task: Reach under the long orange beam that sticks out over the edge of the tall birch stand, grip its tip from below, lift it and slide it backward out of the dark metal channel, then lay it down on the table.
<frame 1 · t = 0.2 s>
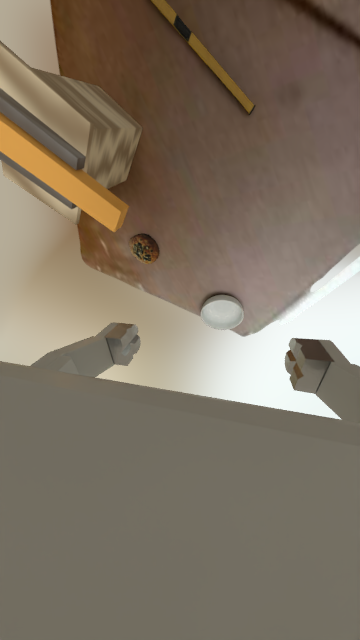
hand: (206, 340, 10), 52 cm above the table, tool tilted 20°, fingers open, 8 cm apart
cereal bowl: (222, 304, 75), on the table
long orange beam: (69, 174, 29), point 26 cm above the table, touching stand
bread roll: (145, 248, 64), on the table
spirit level: (186, 34, 32), on the table
stand: (118, 142, 44), on the table
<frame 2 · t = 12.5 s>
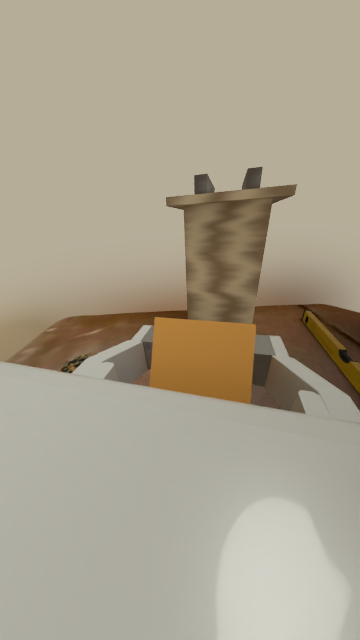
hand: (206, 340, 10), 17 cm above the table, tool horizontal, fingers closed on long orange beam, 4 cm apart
long orange beam: (211, 353, 17), point 12 cm above the table, tilted 30°, touching gripper
bread roll: (84, 382, 31), on the table
spirit level: (341, 369, 30), on the table
stand: (218, 334, 40), on the table
when the fingers open (11 cm above the table, at t = 14.3 s): long orange beam drops 6 cm, on the table.
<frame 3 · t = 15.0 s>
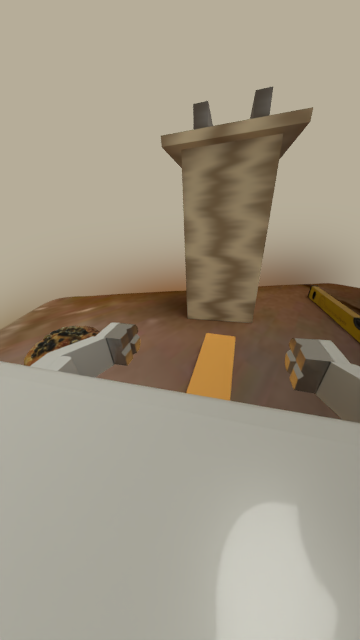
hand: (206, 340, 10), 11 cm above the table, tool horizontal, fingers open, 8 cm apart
long orange beam: (207, 412, 18), on the table
bread roll: (70, 355, 27), on the table
spirit level: (356, 339, 27), on the table
stand: (219, 310, 37), on the table
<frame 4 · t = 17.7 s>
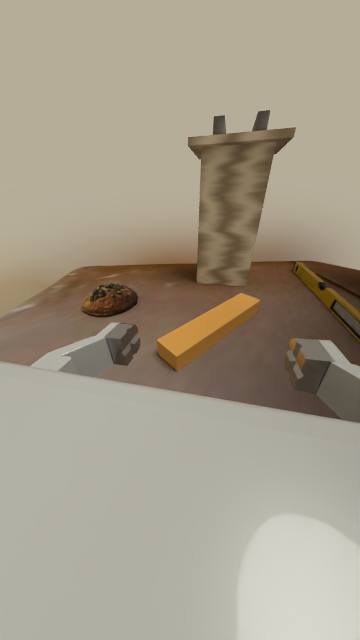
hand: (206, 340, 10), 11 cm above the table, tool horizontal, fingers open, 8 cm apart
long orange beam: (214, 332, 29), on the table
bread roll: (111, 304, 37), on the table
spirit level: (318, 298, 38), on the table
stand: (221, 278, 47), on the table
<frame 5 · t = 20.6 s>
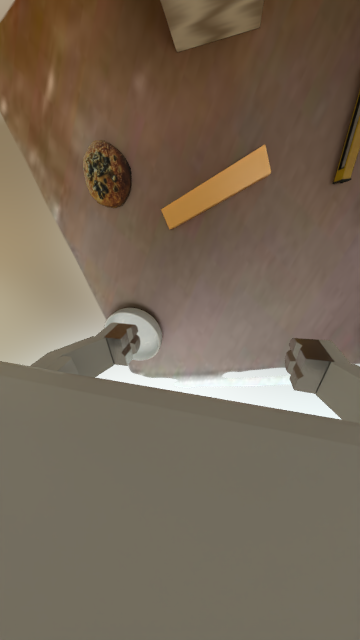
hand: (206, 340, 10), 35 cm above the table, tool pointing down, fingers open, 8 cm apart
cereal bowl: (141, 325, 56), on the table
long orange beam: (211, 194, 35), on the table
bread roll: (110, 178, 38), on the table
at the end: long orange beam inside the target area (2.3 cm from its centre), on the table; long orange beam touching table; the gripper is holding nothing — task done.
